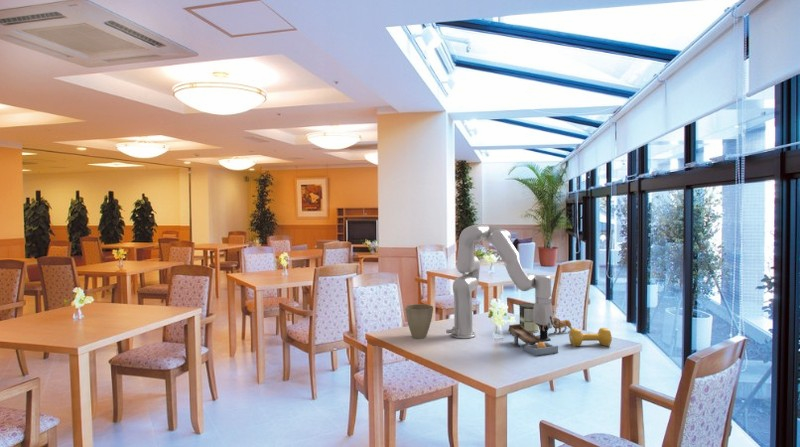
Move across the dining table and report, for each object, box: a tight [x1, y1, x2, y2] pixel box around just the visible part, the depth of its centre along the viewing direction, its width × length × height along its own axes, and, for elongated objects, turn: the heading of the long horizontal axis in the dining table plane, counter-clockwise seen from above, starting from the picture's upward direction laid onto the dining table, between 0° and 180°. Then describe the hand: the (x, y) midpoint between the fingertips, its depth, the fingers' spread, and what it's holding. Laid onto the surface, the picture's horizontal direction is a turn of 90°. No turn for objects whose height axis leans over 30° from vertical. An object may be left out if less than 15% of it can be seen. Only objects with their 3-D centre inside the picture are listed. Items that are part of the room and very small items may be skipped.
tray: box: [523, 342, 559, 357], centre depth 223 cm, size 10×12×3 cm
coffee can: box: [518, 302, 540, 334], centre depth 262 cm, size 10×10×14 cm
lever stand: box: [510, 332, 537, 348], centre depth 234 cm, size 4×12×6 cm, turn 113°
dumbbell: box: [568, 327, 613, 347], centre depth 233 cm, size 19×9×8 cm, turn 89°
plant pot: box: [404, 303, 434, 339], centre depth 251 cm, size 15×15×16 cm
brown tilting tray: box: [508, 323, 552, 345], centre depth 236 cm, size 15×14×4 cm
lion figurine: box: [552, 316, 573, 335], centre depth 256 cm, size 15×5×9 cm, turn 121°
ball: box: [536, 342, 546, 349], centre depth 223 cm, size 4×4×4 cm
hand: (543, 338), depth 231 cm, fingers closed
